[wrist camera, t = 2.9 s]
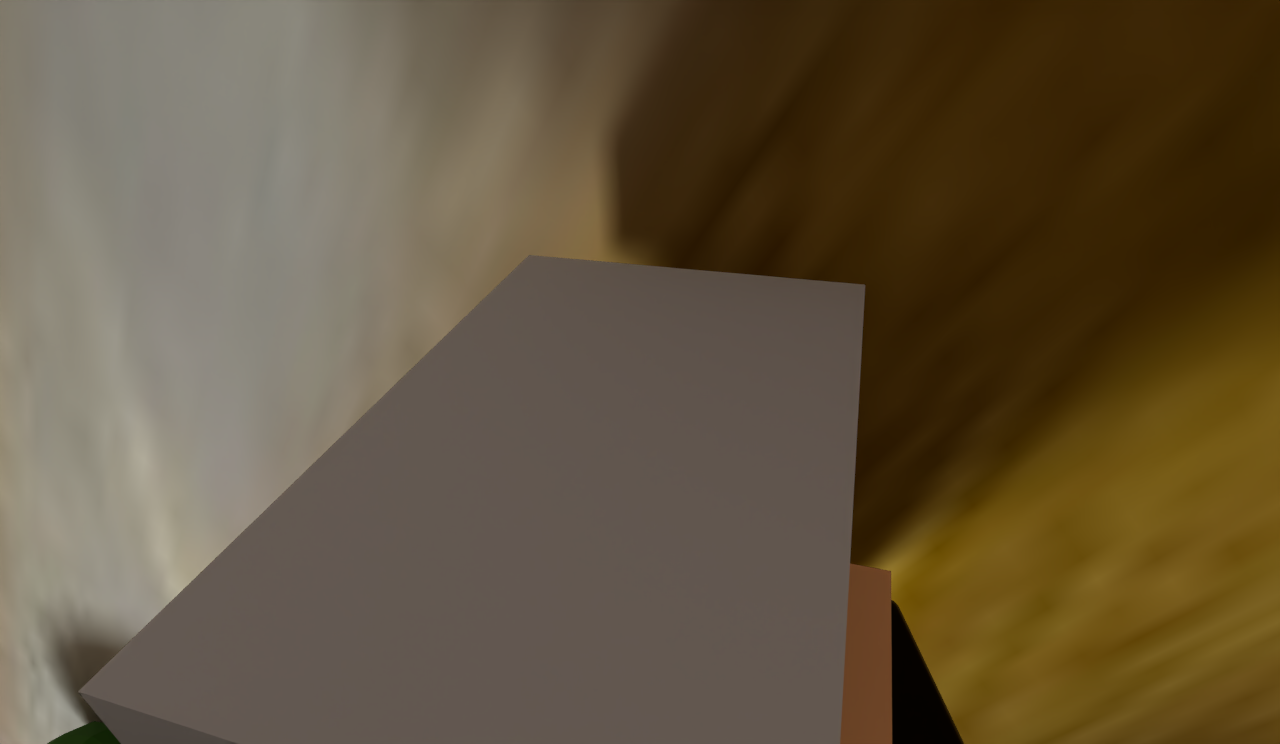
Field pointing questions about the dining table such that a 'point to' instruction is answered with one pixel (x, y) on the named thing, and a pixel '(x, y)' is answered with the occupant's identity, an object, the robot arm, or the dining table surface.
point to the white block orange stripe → (556, 539)
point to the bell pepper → (88, 735)
